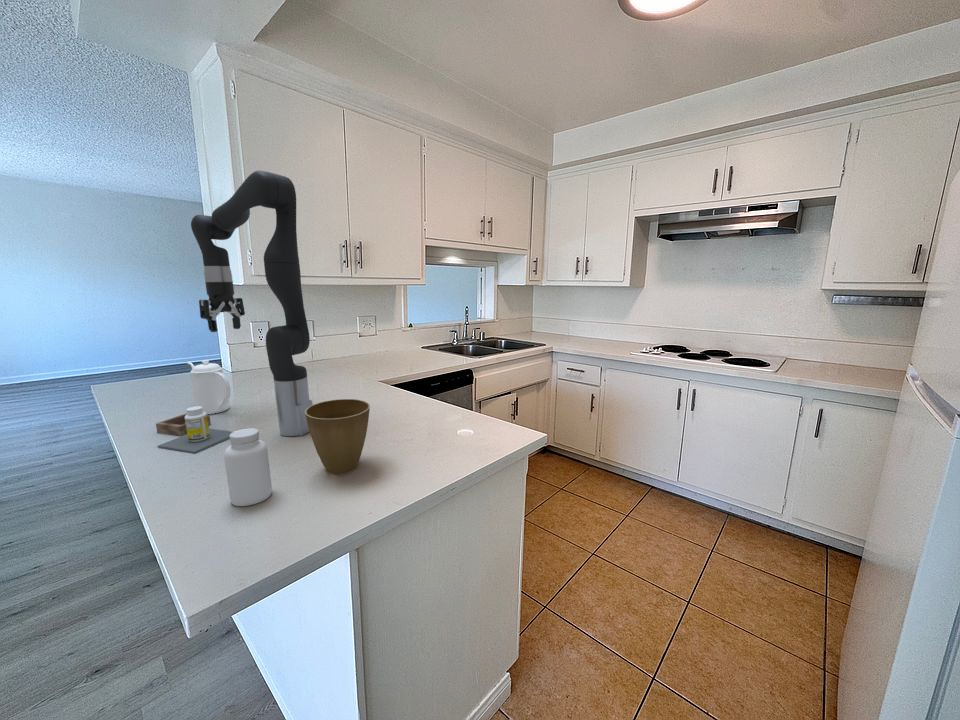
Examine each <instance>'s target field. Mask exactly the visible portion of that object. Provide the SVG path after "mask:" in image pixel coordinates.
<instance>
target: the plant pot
mask: <svg viewBox="0 0 960 720" xmlns="http://www.w3.org/2000/svg"><path fill="white" fill-rule="evenodd" d="M370 407H371V406H370V403H369V402H367V401H365V400H361V399H357V398H356V399H355V398H345V399H344V398H342V399H341V398H340V399H339V398H338V399H330V400H324V401H319V402H317V403H313V405H312V406H310V407H308V408H307V409H306V410H305V415H306V420H307V424H308V428H309V431H310V432H309V434H310V438H311V440H312V442H313V445H314V448H315V450H316V453H317V454H318V457H319V460H320V462H321V463H322V465H323V467H324V469H325V470H326V472H327V473H328V474H330V475H335V476H336V475H337V476H338V475H345V474H349V473H351V472H353V471H355V470H356V469H357V467H358V465H359V462H360V459H361V456H362V453H363V449H364V446H365V443H366V441H365V440H366V437H367V432H368V427H369V426H368V425H369V418H370Z"/></svg>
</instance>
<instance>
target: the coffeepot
mask: <svg viewBox="0 0 960 720" xmlns="http://www.w3.org/2000/svg"><path fill="white" fill-rule="evenodd" d="M185 364H187V365H190V367H191V370H190V374H191V388H192V390H191V391H192V403H193V407H195V406H201V407H202V409H203V412H205V413H206V414H207V416H209V415H216V414H218V413H219V414H220V413H222V412H225V411H227V410H229V409H230V407H231V403H230V398H231V397H230V396H231V385H230V381H229V379H228V378H227V376H226V375H225V374H224V372H223V367H221V366H220V364H219V363H214V362H213V363H212V362H210V360H209V359H204V360H201V364H197V365H194V364H193V363H192V362H191V361H187V362H185ZM215 413H216V414H215ZM208 414H209V415H208Z"/></svg>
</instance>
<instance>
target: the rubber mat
mask: <svg viewBox="0 0 960 720" xmlns="http://www.w3.org/2000/svg"><path fill="white" fill-rule="evenodd" d="M233 432H234V431H230V430H223V429H215V428H209V433H210V437H209V438H208V439H206V440H203V441H199V442H190V441H189V440H188V435H187V434H185V435H182V436H178V437H177V438H174V439H172V440H169V441H166V442H164V443H161V444H159V445H157V448H158V447H159V448H158V449H163V448H165V449H164V450H169V449H170V450H169V451H174V452H175V451H176V452H182V453H187V454H188V453H190V454H195V455H196V454H198V453H201V452H202V451H205V450H207V449H209V448H211V446H212V447H214V446H216V445H218V443H219V444H221V443H222V442H225V441H229V440H230V437H229V436H230V434H231V433H233Z"/></svg>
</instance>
